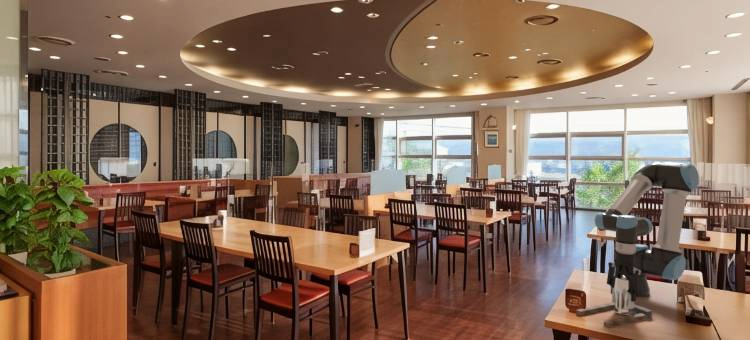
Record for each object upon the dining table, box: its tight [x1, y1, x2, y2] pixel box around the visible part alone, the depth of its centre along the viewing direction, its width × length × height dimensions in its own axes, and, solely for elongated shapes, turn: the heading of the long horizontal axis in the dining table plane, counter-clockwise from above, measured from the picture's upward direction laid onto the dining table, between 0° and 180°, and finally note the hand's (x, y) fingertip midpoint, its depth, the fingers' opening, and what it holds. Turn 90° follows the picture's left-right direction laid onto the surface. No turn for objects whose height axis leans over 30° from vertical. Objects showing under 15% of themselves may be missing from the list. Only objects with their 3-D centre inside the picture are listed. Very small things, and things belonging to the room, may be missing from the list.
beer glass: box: [613, 275, 631, 316], centre depth 185 cm, size 7×7×15 cm
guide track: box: [575, 302, 653, 329], centre depth 183 cm, size 26×15×3 cm, turn 114°
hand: (622, 305), depth 185 cm, fingers closed on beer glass, 7 cm apart
